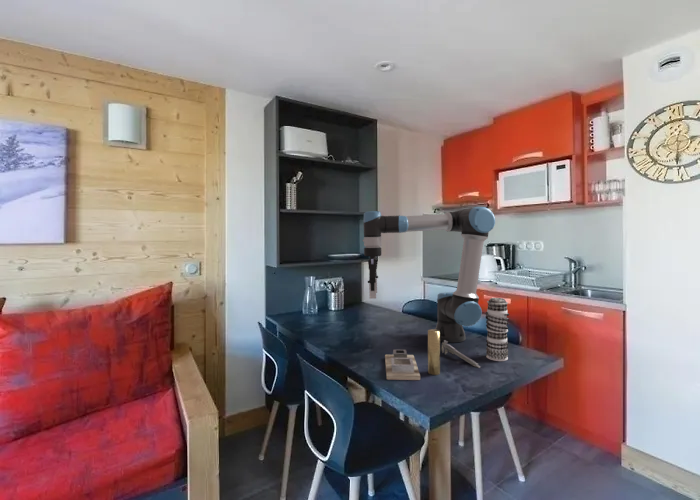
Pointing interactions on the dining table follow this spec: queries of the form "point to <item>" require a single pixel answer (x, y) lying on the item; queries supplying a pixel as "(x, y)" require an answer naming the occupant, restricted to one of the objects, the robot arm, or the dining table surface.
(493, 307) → the decorative candle
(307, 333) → the dining table surface
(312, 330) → the dining table surface
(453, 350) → the caliper
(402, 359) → the fitting board
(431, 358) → the brass cylinder
